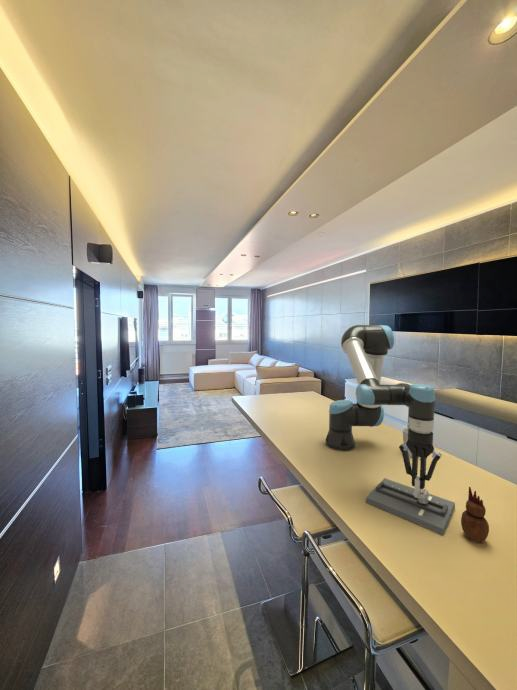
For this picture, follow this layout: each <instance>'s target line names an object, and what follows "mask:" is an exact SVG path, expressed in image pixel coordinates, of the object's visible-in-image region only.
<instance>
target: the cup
mask: <svg viewBox="0 0 517 690" xmlns="http://www.w3.org/2000/svg"><path fill="white" fill-rule="evenodd" d="M408 429H409V427H408V428H407V427H404V428H403V429H402V442H403V443H402V444H406V442H407V441H408ZM407 451H408V455H409V458H411V459H412V453H411V452H410V450H409V449H407Z"/></svg>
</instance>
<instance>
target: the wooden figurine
mask: <svg viewBox="0 0 517 690" xmlns="http://www.w3.org/2000/svg"><path fill="white" fill-rule="evenodd" d="M486 512H487V511H486V507H485V505H484V501H483V499H480V495H478V496H477V491H476V490H474V492H472V488H471V486H468V499H467V500H466V502H465V510H464V511H462V513H461V518H460V524H461V525H460V526H461V529H462V531H463V533H464V535H465V537H466V538H468V539H469V540H471V542H472V541H473V542H475V543H478V544H479V543H483V542H485V541H486V540H487V539H488V536H489V532H490V526H489V525H490V524H489V522H488V521H487V520H488V519H486V517H485V516H486Z"/></svg>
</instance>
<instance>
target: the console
mask: <svg viewBox="0 0 517 690" xmlns="http://www.w3.org/2000/svg"><path fill="white" fill-rule="evenodd" d="M414 491H415V487H413V486H412V487H411V486H408V485H406V484H403V483H400V482H397V481H393V480H391V479H389V478H383V479H382V480H381V481H380V482H379V483H378V484H377V485H376V486H375V487H374V489H372V491H370V493H369V494H368V495H367V496H365V503H367V504H369V505H371V506H373V507H375V508H378V509H381V510H383V511H384V512H387V513H390V514H392V515H395V516H397V517H398V518H401V519H403V520H407V521H408V522H411V523H413V524H416V525H418V526H420V527H423V528H426V529H428V530H430V531H432V532H435V533H437V534H439V535H442V536H444V534H445V533H446V529H447V527H448V524H449V523H450V521H451V517H452V515H453V513H454V511H455V508H456V502H454V501H452V500H448V499H445V498H443V497H440V496H437V495H434V494H431V493H429V492H428V500H429V505H428V507H427V506H425V505H422V504H419V503H417V500H418V498H416V497H414Z"/></svg>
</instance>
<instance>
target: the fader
mask: <svg viewBox="0 0 517 690" xmlns="http://www.w3.org/2000/svg"><path fill="white" fill-rule="evenodd" d="M428 493H429V490H428V489H426V488H424V489H421V491H420V492H419V494H418V500H417V503H419V504H422V505H425V506H427V507H428V505H429V500H428Z"/></svg>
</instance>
